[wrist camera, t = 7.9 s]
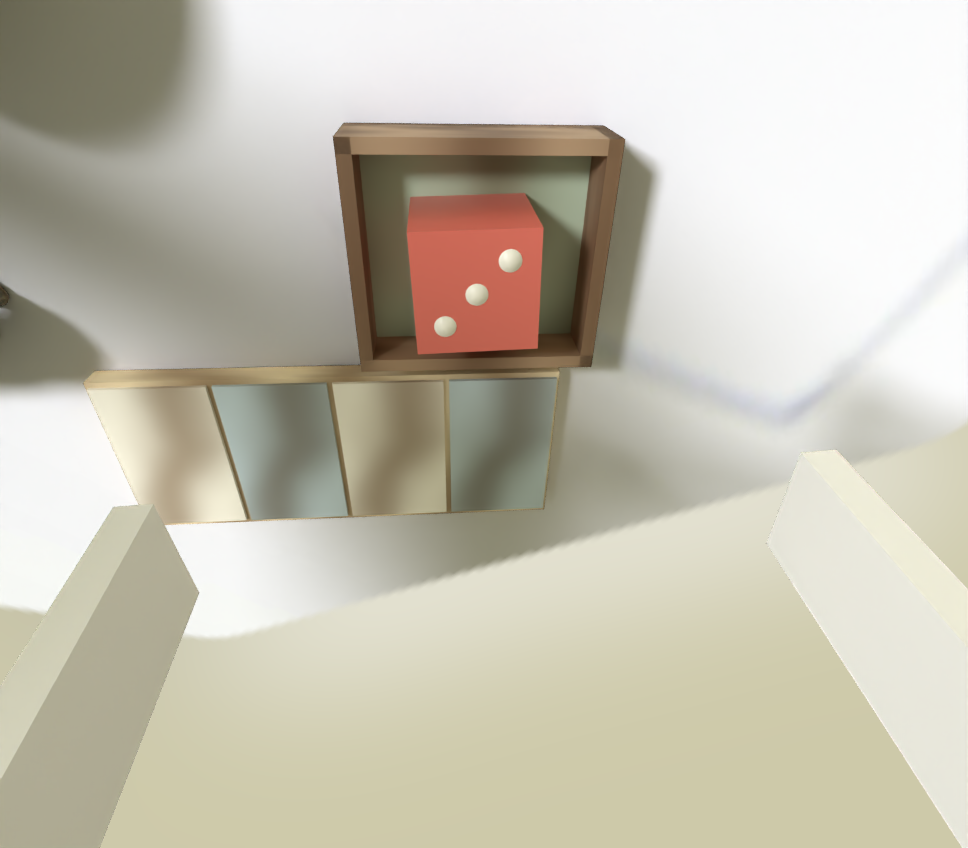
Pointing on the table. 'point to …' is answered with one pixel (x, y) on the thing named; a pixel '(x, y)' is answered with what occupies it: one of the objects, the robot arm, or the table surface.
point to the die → (475, 272)
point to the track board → (328, 440)
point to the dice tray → (473, 171)
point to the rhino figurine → (3, 296)
